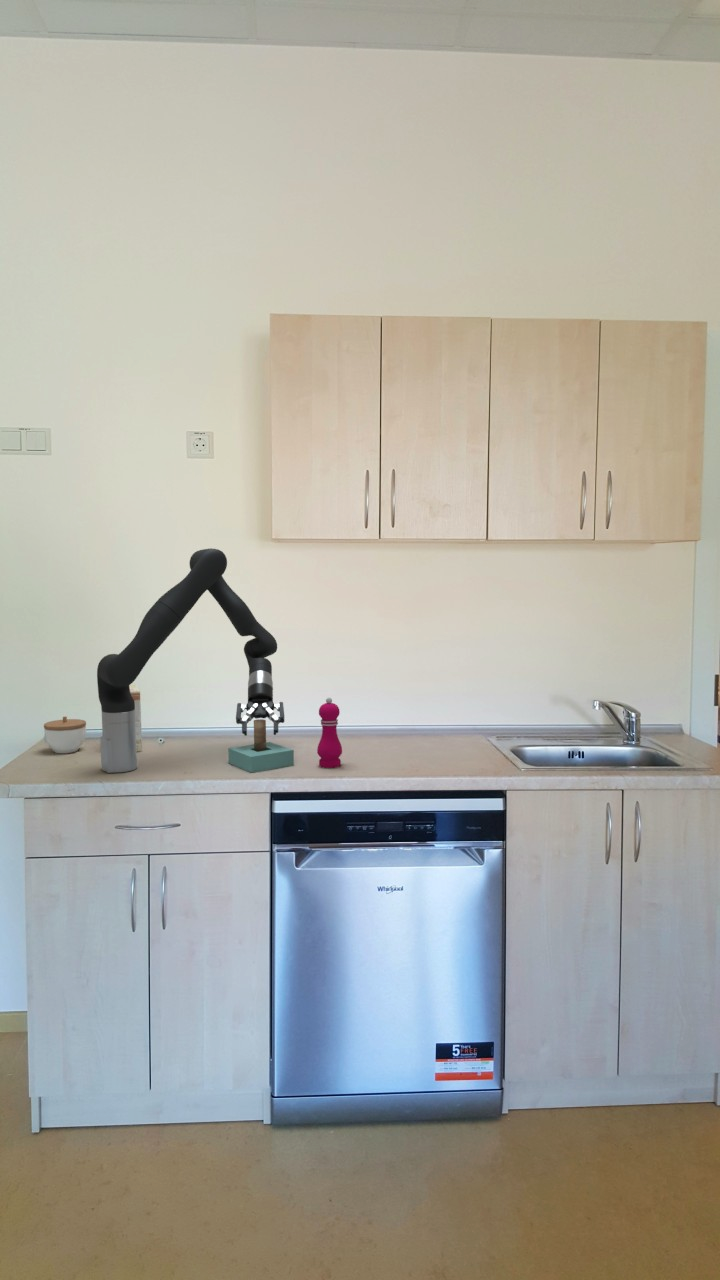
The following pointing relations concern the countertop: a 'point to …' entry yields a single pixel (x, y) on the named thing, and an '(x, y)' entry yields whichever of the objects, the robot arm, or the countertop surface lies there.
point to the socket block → (261, 757)
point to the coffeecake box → (137, 716)
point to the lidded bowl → (65, 734)
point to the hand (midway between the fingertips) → (260, 733)
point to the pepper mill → (329, 736)
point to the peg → (259, 735)
